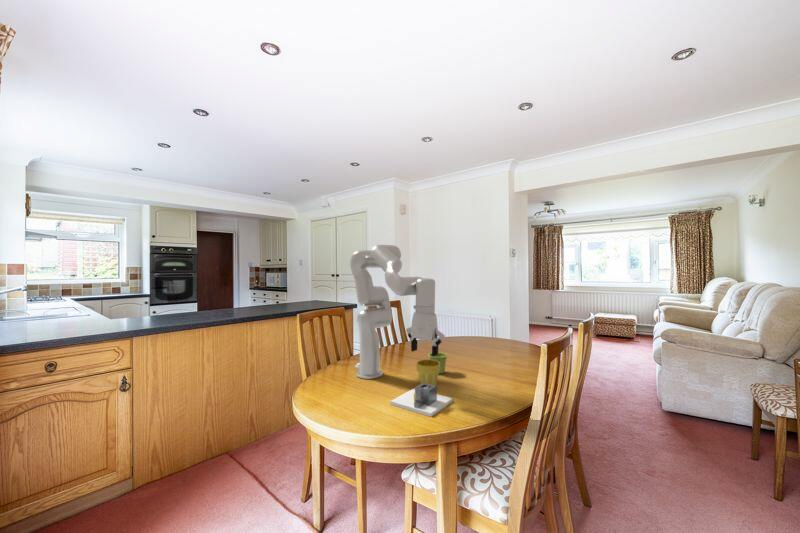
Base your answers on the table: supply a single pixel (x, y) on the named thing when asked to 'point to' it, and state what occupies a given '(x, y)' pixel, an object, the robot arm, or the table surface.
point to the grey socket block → (425, 395)
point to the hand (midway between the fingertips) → (424, 353)
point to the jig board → (408, 403)
